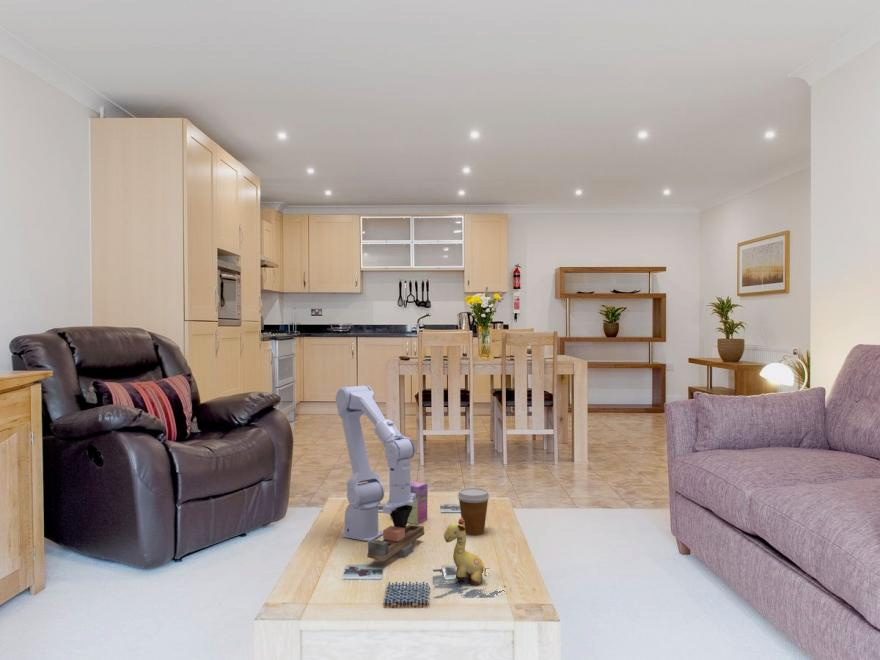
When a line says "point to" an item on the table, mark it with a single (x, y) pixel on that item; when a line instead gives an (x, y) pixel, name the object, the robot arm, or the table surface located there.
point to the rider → (393, 534)
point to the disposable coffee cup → (473, 509)
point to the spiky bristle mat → (406, 595)
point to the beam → (395, 544)
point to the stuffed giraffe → (462, 565)
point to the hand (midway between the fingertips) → (400, 533)
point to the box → (418, 503)
